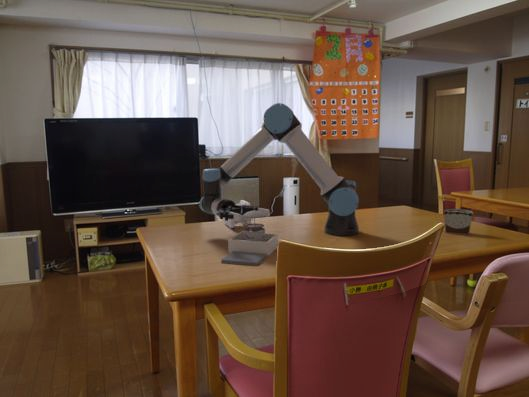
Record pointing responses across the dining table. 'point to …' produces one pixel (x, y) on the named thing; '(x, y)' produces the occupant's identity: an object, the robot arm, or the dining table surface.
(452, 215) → the food container
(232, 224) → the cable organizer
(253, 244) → the white open storage bin
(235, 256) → the rubber mat
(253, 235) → the french press
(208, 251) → the dining table surface
